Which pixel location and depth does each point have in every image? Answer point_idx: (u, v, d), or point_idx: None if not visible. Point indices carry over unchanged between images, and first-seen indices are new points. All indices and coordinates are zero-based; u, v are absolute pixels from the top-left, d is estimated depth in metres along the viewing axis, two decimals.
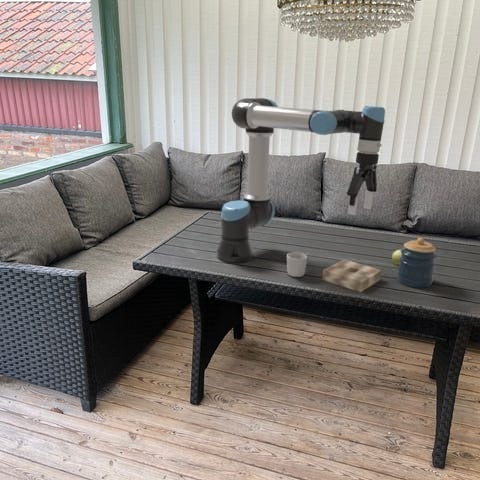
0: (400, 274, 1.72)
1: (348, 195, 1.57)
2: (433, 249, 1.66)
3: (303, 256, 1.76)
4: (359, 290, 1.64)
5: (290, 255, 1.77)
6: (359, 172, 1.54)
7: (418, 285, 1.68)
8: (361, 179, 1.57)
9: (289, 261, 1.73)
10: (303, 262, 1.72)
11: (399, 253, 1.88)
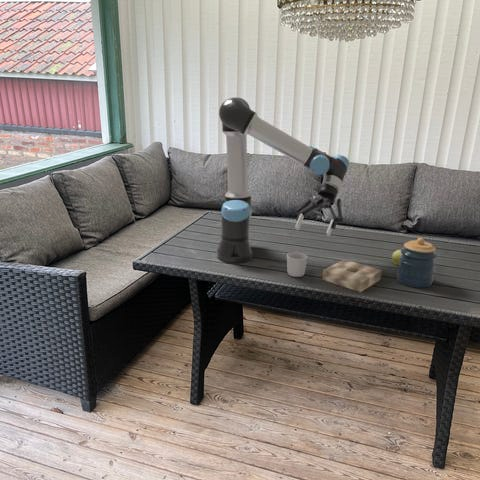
0: (400, 274, 1.72)
1: (335, 219, 1.79)
2: (433, 249, 1.66)
3: (303, 256, 1.76)
4: (359, 290, 1.64)
5: (290, 255, 1.77)
6: (340, 204, 1.84)
7: (418, 285, 1.68)
8: None
9: (289, 261, 1.73)
10: (303, 262, 1.72)
11: (399, 253, 1.88)
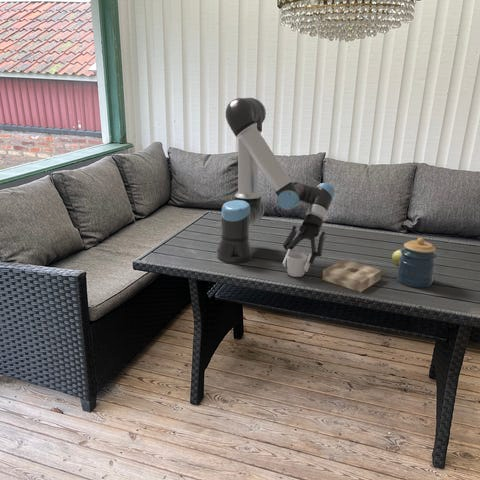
0: (400, 274, 1.72)
1: (313, 253, 1.73)
2: (433, 249, 1.66)
3: (303, 256, 1.76)
4: (359, 290, 1.64)
5: (290, 255, 1.77)
6: (324, 237, 1.77)
7: (418, 285, 1.68)
8: (314, 241, 1.78)
9: (289, 261, 1.73)
10: (303, 262, 1.72)
11: (399, 253, 1.88)
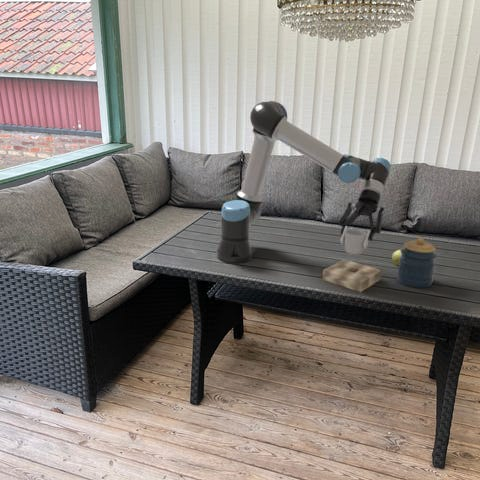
0: (400, 274, 1.72)
1: (372, 230, 1.65)
2: (433, 249, 1.66)
3: (361, 233, 1.69)
4: (359, 290, 1.64)
5: (348, 232, 1.69)
6: None
7: (418, 285, 1.68)
8: None
9: (348, 238, 1.65)
10: (363, 239, 1.64)
11: (399, 253, 1.88)
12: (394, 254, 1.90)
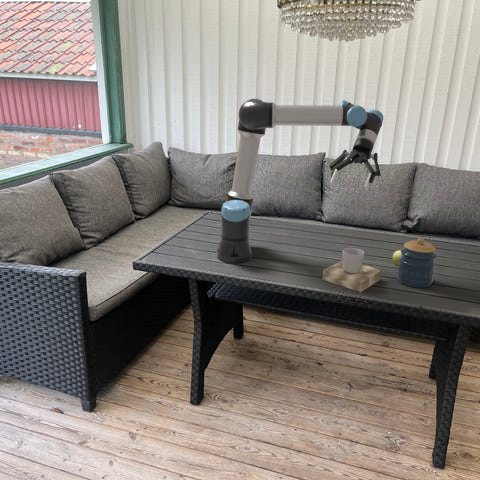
0: (400, 274, 1.72)
1: (373, 172, 1.72)
2: (433, 249, 1.66)
3: (359, 252, 1.71)
4: (359, 290, 1.64)
5: (345, 251, 1.72)
6: (377, 159, 1.77)
7: (418, 285, 1.68)
8: None
9: (346, 257, 1.68)
10: (360, 258, 1.67)
11: (400, 253, 1.88)
12: (394, 254, 1.90)
